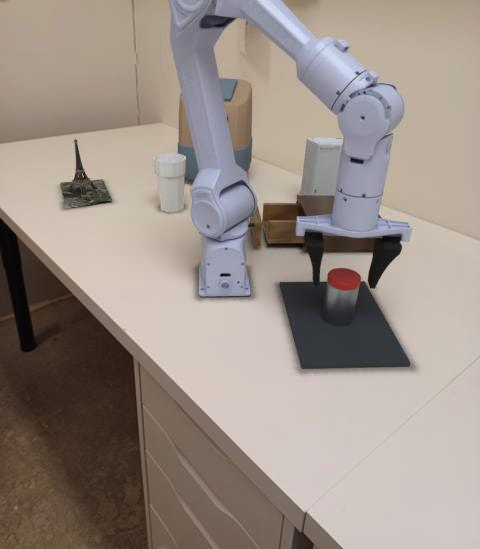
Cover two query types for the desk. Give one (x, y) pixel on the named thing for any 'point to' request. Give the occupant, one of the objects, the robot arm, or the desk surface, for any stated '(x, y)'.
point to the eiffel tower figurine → (83, 187)
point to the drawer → (276, 223)
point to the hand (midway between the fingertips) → (343, 283)
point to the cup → (170, 180)
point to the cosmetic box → (321, 166)
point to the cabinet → (324, 206)
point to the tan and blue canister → (239, 123)
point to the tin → (341, 296)
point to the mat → (340, 331)
